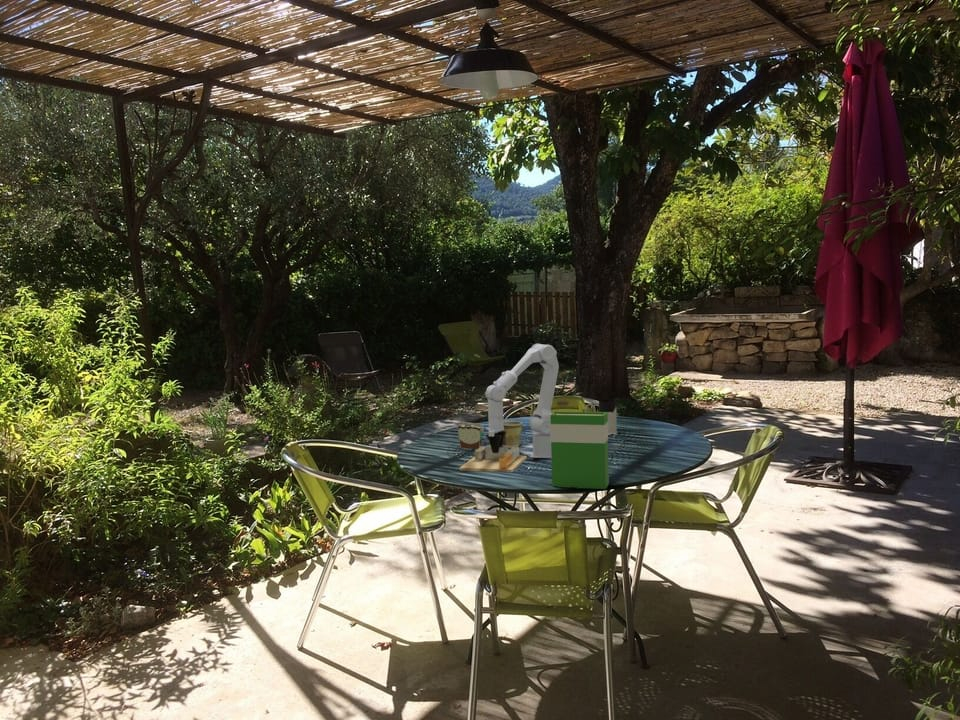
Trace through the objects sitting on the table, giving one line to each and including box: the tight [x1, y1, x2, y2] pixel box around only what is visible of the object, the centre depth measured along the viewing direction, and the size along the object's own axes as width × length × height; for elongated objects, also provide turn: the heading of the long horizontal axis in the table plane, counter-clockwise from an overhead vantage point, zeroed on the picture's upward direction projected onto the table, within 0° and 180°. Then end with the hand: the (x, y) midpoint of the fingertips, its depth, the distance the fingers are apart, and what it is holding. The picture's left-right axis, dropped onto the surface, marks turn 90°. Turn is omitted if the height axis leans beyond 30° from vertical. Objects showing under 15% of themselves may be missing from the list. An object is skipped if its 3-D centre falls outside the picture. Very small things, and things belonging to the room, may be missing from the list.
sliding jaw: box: [499, 446, 520, 468], centre depth 283 cm, size 2×20×4 cm, turn 163°
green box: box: [550, 411, 610, 490], centre depth 250 cm, size 18×7×24 cm, turn 72°
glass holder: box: [584, 399, 618, 435], centre depth 337 cm, size 9×14×15 cm, turn 89°
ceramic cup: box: [502, 420, 523, 449], centre depth 319 cm, size 13×10×10 cm
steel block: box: [484, 444, 509, 460], centre depth 290 cm, size 8×4×5 cm, turn 73°
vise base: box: [459, 445, 528, 473], centre depth 286 cm, size 20×23×5 cm
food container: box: [456, 422, 485, 451], centre depth 318 cm, size 12×6×10 cm, turn 59°
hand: (497, 451), depth 290 cm, fingers open, 4 cm apart
